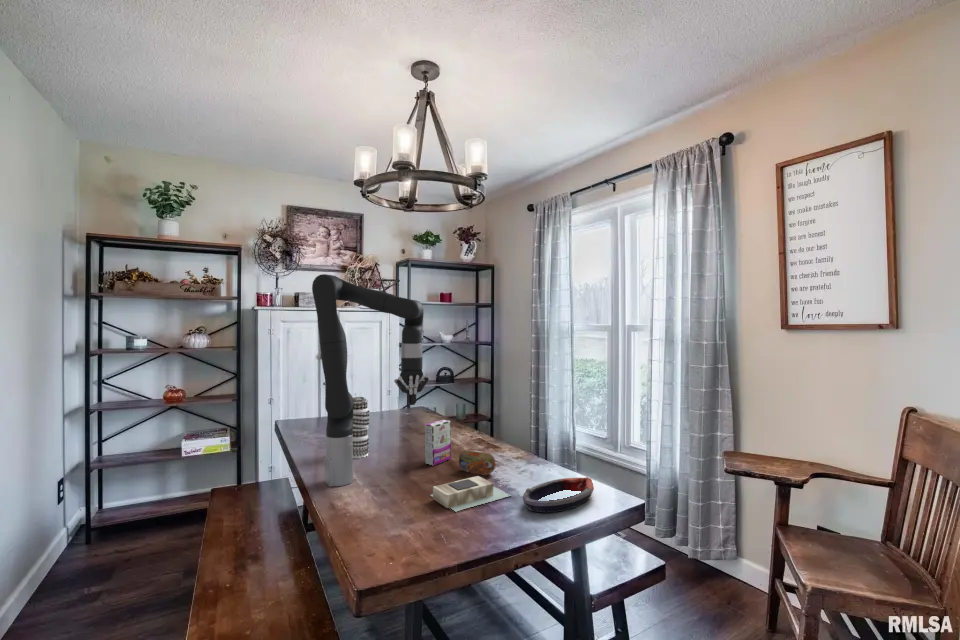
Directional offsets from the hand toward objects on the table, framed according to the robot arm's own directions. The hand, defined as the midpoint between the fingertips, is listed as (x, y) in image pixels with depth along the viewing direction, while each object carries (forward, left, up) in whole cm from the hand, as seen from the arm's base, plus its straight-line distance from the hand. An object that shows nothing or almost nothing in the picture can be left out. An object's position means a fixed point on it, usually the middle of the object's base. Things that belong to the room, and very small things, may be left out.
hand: (411, 404), depth 163 cm
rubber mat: (+12, -20, -29) cm, 37 cm away
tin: (+27, -2, -29) cm, 40 cm away
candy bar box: (+21, +18, -29) cm, 40 cm away
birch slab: (0, -20, -27) cm, 33 cm away
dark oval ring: (+34, -40, -29) cm, 60 cm away
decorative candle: (-3, +45, -29) cm, 54 cm away
